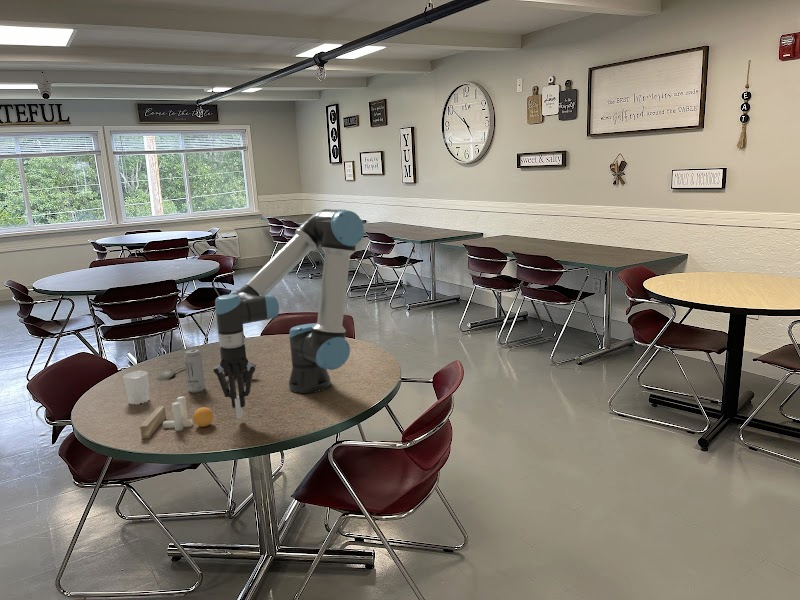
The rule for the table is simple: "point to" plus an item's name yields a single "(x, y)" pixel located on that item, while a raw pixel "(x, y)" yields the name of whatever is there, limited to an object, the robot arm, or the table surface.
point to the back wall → (153, 422)
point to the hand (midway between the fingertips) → (240, 416)
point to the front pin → (171, 425)
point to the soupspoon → (167, 374)
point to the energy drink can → (194, 370)
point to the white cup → (137, 386)
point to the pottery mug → (245, 374)
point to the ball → (203, 416)
